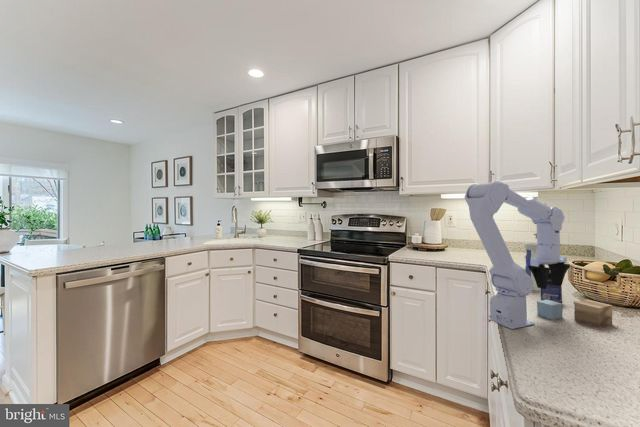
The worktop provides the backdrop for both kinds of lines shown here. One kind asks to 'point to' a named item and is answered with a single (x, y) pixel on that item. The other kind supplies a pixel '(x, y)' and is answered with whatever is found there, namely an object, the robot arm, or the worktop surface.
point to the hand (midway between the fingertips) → (549, 286)
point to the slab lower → (593, 320)
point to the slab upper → (593, 308)
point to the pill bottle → (551, 291)
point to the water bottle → (530, 254)
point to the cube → (549, 309)
